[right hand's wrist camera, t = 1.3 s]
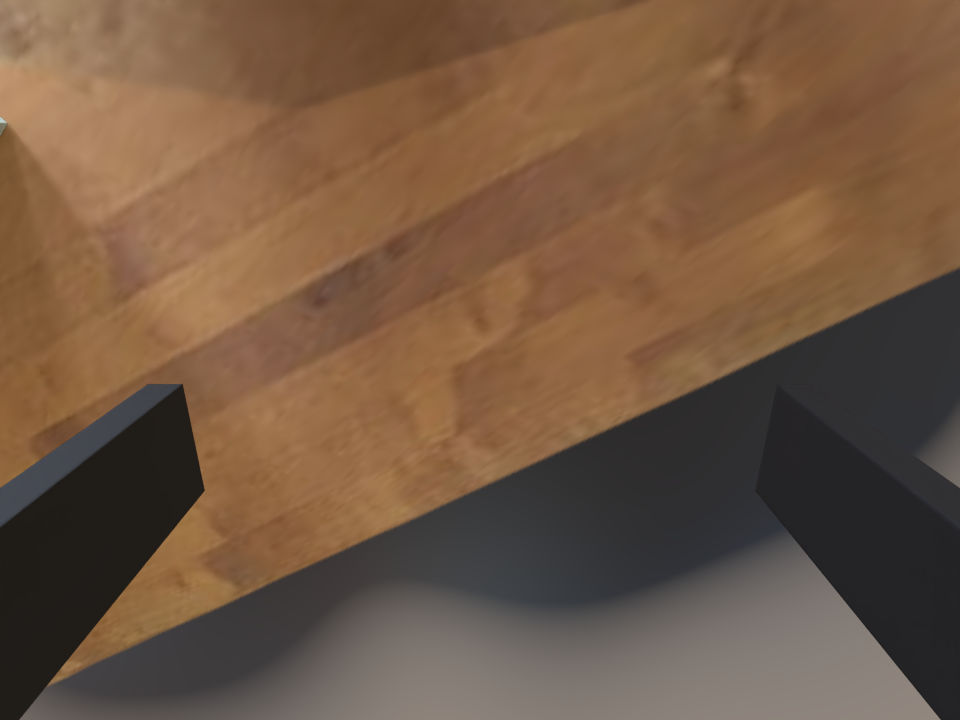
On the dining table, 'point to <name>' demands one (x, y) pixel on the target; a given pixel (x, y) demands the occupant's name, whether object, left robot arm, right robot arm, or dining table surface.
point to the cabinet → (2, 125)
